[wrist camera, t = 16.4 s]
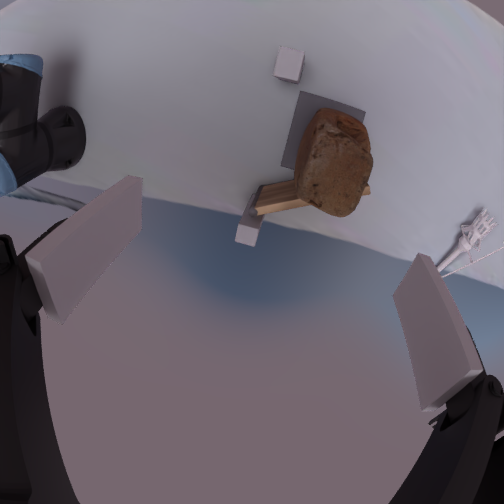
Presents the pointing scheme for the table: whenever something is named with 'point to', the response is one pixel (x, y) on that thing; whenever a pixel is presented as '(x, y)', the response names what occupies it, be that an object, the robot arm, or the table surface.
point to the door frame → (290, 71)
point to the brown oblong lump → (333, 162)
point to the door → (279, 198)
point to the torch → (470, 241)
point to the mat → (302, 118)
